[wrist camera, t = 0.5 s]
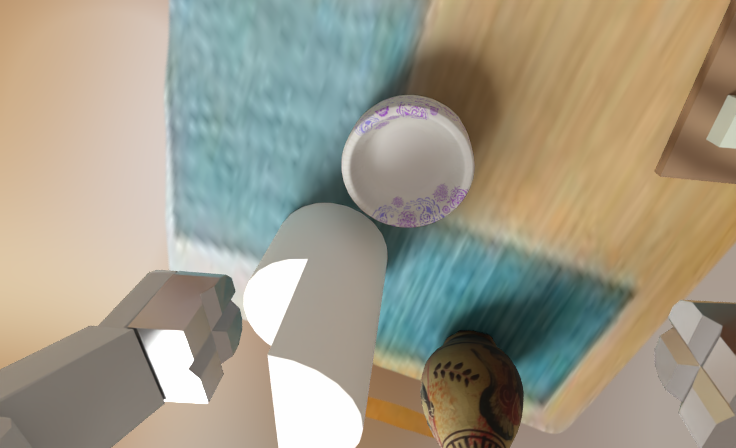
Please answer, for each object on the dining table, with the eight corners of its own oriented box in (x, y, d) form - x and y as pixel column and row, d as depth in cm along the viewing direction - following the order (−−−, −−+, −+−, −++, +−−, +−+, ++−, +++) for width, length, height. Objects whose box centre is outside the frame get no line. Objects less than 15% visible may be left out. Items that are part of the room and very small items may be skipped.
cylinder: (391, 208, 59) (366, 367, 35) (384, 301, 68) (360, 477, 44) (272, 197, 61) (172, 342, 37) (280, 289, 70) (203, 453, 46)
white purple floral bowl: (423, 60, 49) (422, 74, 42) (492, 159, 54) (501, 186, 47) (327, 135, 55) (313, 158, 48) (397, 218, 60) (393, 249, 53)
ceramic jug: (406, 331, 71) (394, 531, 46) (496, 306, 66) (539, 517, 40) (444, 393, 78) (451, 598, 53) (528, 376, 73) (581, 593, 47)
